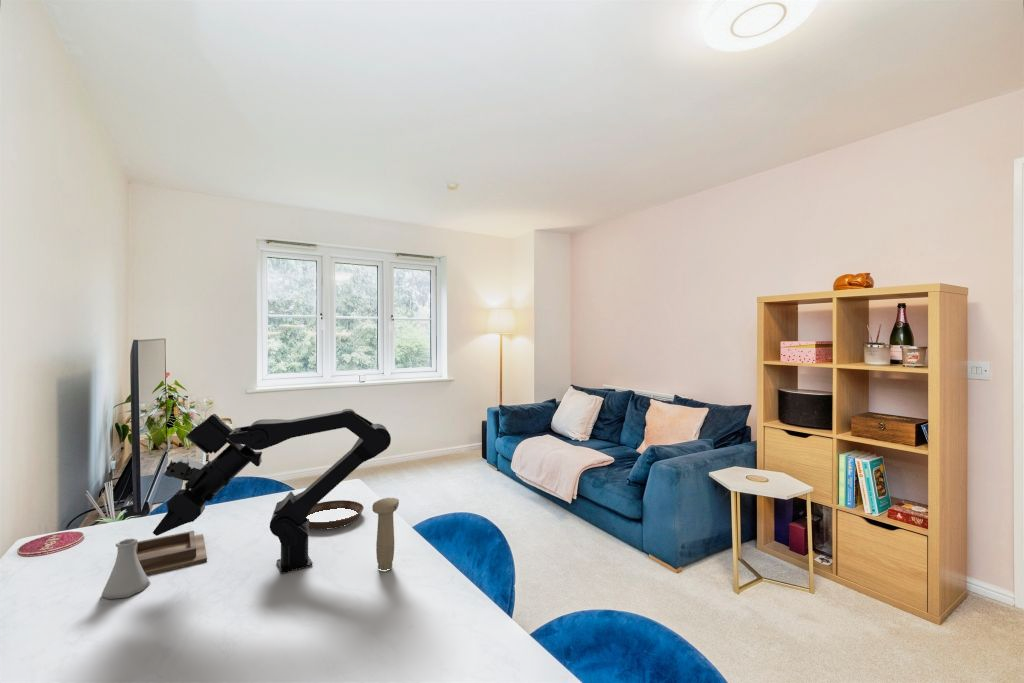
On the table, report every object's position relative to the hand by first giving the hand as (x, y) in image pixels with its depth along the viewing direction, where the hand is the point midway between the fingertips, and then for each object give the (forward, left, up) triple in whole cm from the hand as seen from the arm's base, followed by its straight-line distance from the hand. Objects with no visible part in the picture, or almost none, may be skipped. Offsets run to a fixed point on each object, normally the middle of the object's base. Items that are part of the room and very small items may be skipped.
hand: (162, 525), depth 96 cm
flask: (+2, +6, -13) cm, 14 cm away
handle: (-20, -40, -13) cm, 47 cm away
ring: (+16, -38, -13) cm, 43 cm away
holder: (+15, 0, -12) cm, 19 cm away
